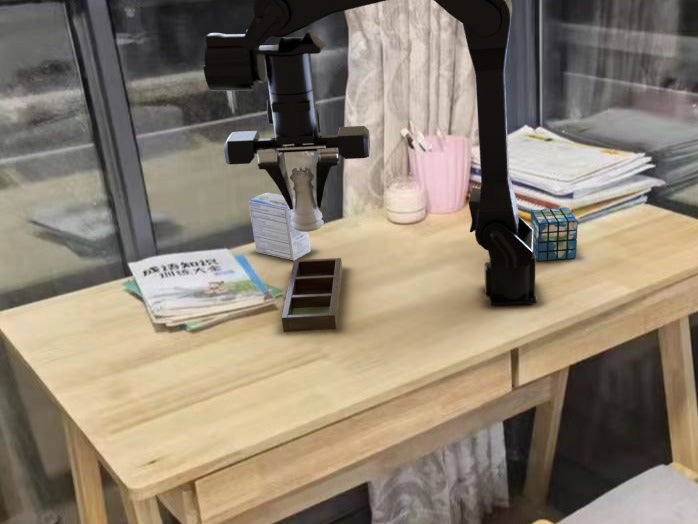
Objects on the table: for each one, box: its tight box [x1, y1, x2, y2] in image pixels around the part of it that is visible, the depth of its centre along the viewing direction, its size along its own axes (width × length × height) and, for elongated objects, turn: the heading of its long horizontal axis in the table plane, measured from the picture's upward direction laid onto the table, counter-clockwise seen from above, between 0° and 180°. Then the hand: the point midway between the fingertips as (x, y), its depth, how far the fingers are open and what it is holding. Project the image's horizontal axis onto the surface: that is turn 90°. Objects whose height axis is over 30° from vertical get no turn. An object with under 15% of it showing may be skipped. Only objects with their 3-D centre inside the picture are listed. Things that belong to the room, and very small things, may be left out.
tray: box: [281, 257, 344, 333], centre depth 134 cm, size 7×20×2 cm, turn 3°
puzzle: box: [529, 207, 579, 262], centre depth 145 cm, size 6×6×6 cm
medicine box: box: [248, 192, 312, 261], centre depth 148 cm, size 8×4×9 cm, turn 58°
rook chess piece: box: [289, 166, 325, 233], centre depth 129 cm, size 4×4×8 cm
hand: (306, 207), depth 129 cm, fingers closed on rook chess piece, 3 cm apart
